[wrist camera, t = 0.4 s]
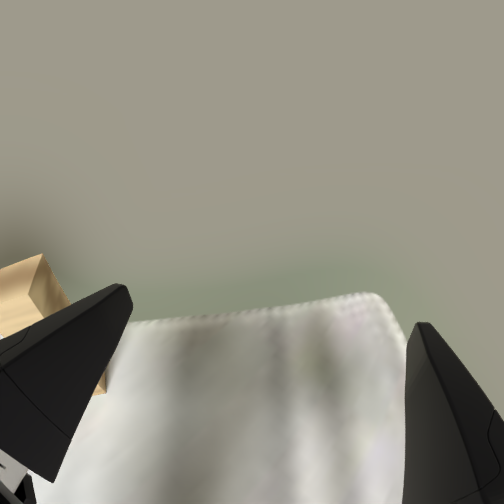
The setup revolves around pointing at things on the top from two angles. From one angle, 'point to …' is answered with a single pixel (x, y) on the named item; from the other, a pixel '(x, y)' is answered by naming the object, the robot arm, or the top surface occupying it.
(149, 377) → the top surface
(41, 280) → the oak block
